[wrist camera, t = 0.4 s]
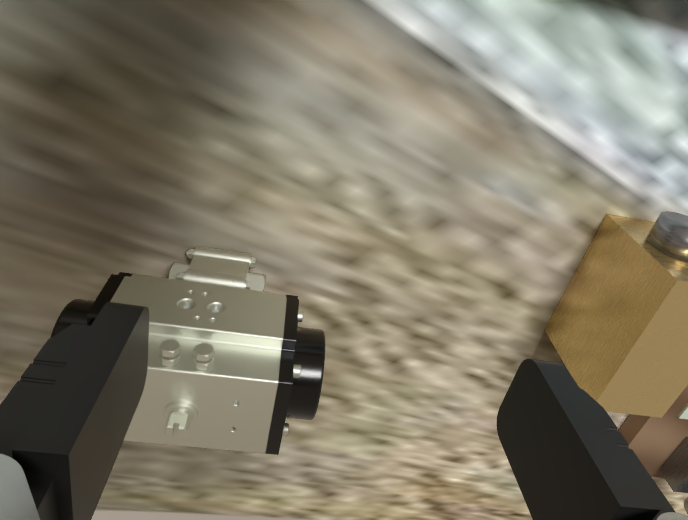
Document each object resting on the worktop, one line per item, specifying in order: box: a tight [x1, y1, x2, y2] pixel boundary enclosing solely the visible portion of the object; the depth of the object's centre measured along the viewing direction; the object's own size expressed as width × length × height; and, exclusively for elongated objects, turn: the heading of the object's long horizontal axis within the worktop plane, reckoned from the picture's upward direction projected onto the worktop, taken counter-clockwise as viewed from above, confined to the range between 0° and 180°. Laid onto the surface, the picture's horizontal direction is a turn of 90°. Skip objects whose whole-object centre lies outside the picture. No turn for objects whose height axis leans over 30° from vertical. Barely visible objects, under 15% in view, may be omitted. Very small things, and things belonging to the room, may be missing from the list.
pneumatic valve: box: [51, 246, 325, 455], centre depth 25 cm, size 6×12×12 cm, turn 79°
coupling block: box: [545, 212, 688, 418], centre depth 29 cm, size 12×4×7 cm, turn 168°
